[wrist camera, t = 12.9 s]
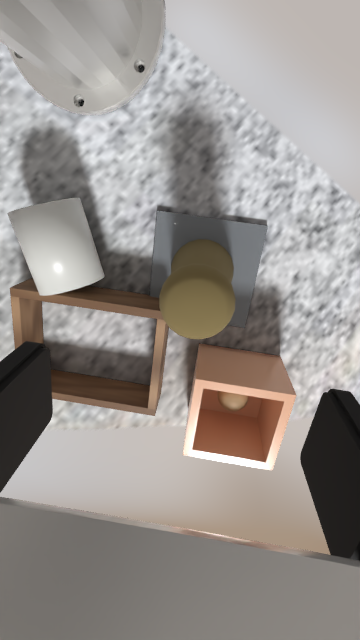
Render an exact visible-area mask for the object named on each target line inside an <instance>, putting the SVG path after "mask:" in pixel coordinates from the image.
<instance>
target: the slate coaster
mask: <svg viewBox="0 0 360 640" xmlns="http://www.w3.org/2000/svg"><path fill="white" fill-rule="evenodd" d="M267 227H268V226H266V225H259V224H252V223H245V222H238V221H230V220H223V219H216V218H209V217H202V216H195V215H187V214H180V213H173V212H166V211H159V210H158V211H157V219H156V230H155V241H154V251H153V262H152V273H151V284H150V294H149V296H151V297H158V298H159V295H160V292H161V289H162V286H163V284H164V282H165V281H166V280H167V278H168V277H169V276H170V274H171V264H172V261H173V258H174V256H175V254H176V253H177V252H178V250H179V249H180V248H181V247H182V246H184V245H185V244H187V243H188V242H191V241H194V240H197V239H207V240H211V241H214V242H217V243H219V244H220V245H221V246H222V247H224V248H225V249H226V250H227V252H228V253H229V255H230V256H231V258H232V262H233V266H234V272H233V279H232V282H231V284H232V287H233V291H234V294H235V298H236V301H235V311H234V313H233V316H232V318H231V320H230V322H229V323H228V325H230V326H236V327H242V328H245V325H246V321H247V316H248V312H249V308H250V303H251V299H252V294H253V290H254V285H255V281H256V276H257V272H258V267H259V263H260V258H261V254H262V249H263V245H264V240H265V236H266V232H267Z"/></svg>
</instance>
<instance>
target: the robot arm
mask: <svg viewBox="0 0 360 640" xmlns="http://www.w3.org/2000/svg"><path fill="white" fill-rule="evenodd" d="M164 32H165V2H164V0H0V42H2V43H3V44H5V45H6V46H7V47H8V50H9V52H10V54H11V56H12V59H13V61H14V63H15V64H16V66H17V67H18V69H19V71H20V72H21V74H22V75H23V77H24V78H25V79H26V80H27V82H28V83H29V84H30V85H31V86H32V87H33V88H34V90H35V91H37V92H38V93H39V94H40V95H41V96H43V97H44V98H45V99H46V100H48V101H49V102H51V103H53V104H54V105H56V106H58V107H60V108H62V109H64V110H67V111H69V112H72V113H76V114H81V115H86V116H87V115H102V114H105V113H109V112H112V111H115V110H117V109H119V108H120V107H122V106H124V105H126V104H127V103H128V102H130V101H131V100H132V99H133V98H134V97H135V96H136V95H138V94H139V92H140V91H141V90H142V88H143V87H144V86H145V84H146V83H147V82H148V80H149V78H150V77H151V75H152V73H153V71H154V69H155V67H156V65H157V62H158V58H159V55H160V52H161V49H162V45H163V38H164ZM142 66H143V67H145V70H144V71H143V72H142V73H140V72H139V69H140V67H142ZM83 100H84V105H83V106H82V107H81V105H80V103H81V101H83ZM52 413H53V408H52V385H51V363H50V351H49V349H47V348H46V347H45V345H44V344H43V343H36V342H30V341H25V342H24V343H23V344H21V345H20V346H19V347H18V348H16V349H15V350H14V351H13V352H12V353H10V354H9V355H8V356H7V357H5V358H4V359H3V360H2V361H1V362H0V492H1V491H2V490H3V488H4V487H5V485H6V484H7V482H8V481H9V479H10V478H11V477H12V475H13V474H14V472H15V471H16V469H17V468H18V467H19V465H20V464H21V462H22V461H23V459H24V458H25V456H26V455H27V454H28V452H29V451H30V449H31V448H32V446H33V445H34V443H35V442H36V441H37V439H38V438H39V436H40V435H41V433H42V432H43V431H44V429H45V428H46V426H47V425H48V423H49V422H50V420H51V417H52ZM301 465H302V468H303V471H304V474H305V477H306V480H307V483H308V486H309V489H310V492H311V496H312V499H313V502H314V505H315V508H316V511H317V514H318V517H319V520H320V523H321V526H322V529H323V532H324V535H325V538H326V542H327V544H328V548H329V551H330V554H331V555H328V554H322V553H318V552H313V551H307V550H301V549H296V548H291V547H285V546H280V545H273V544H269V543H263V542H257V541H252V540H247V539H241V538H236V537H230V536H225V535H219V534H214V533H208V532H202V531H196V530H191V529H185V528H179V527H174V526H168V525H163V524H157V523H151V522H145V521H139V520H134V519H128V518H123V517H117V516H111V515H105V514H99V513H94V512H88V511H82V510H76V509H70V508H63V507H58V506H52V505H46V504H40V503H34V502H29V501H23V500H17V499H9V498H4V497H0V640H360V405H359V403H358V402H357V400H356V399H355V397H354V396H353V395H352V393H351V392H349V391H343V390H337V389H330V390H329V391H328V392H324V393H323V395H322V397H321V400H320V402H319V405H318V408H317V411H316V413H315V416H314V419H313V421H312V424H311V427H310V430H309V432H308V435H307V438H306V441H305V444H304V446H303V449H302V451H301Z"/></svg>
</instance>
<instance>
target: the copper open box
mask: <svg viewBox="0 0 360 640" xmlns="http://www.w3.org/2000/svg"><path fill="white" fill-rule="evenodd" d="M218 391H223V392H229V393H235V394H241V395H247V396H249V398H248V402H247V404H246V406H245V407H244V408H243V409H241V410H239V411H228V410H226V409H224V408H223V407H222V406H221V405H220V403H219V401H218V396H217V394H218ZM295 398H296V393H295V391H294V388H293V386H292V384H291V381H290V379H289V376H288V374H287V371H286V369H285V367H284V364H283V362H282V359H281V357H280V356H277V355H270V354H264V353H258V352H251V351H245V350H239V349H232V348H226V347H220V346H213V345H207V344H201V343H199V347H198V353H197V359H196V365H195V371H194V377H193V383H192V389H191V395H190V401H189V407H188V415H187V423H186V432H185V440H184V448H183V455H187V456H193V457H199V458H204V459H210V460H216V461H221V462H228V463H233V464H239V465H245V466H250V467H256V468H262V469H267V470H273V467H274V464H275V460H276V457H277V454H278V451H279V448H280V445H281V442H282V438H283V435H284V432H285V429H286V426H287V423H288V420H289V417H290V414H291V411H292V407H293V404H294V401H295Z"/></svg>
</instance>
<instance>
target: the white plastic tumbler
mask: <svg viewBox="0 0 360 640" xmlns="http://www.w3.org/2000/svg"><path fill="white" fill-rule="evenodd" d="M8 216H9V219H10V221H11V224H12V226H13V229H14V231H15V234H16V236H17V239H18V242H19V244H20V247H21V249H22V252H23V254H24V257H25V259H26V262H27V264H28V267H29V269H30V272H31V274H32V277H33V279H34V282H35V284H36V287H37V290H38V292H39V295H42V296H47V295H54V294H59V293H64V292H68V291H71V290H75V289H78V288H81V287H84V286H87V285H90V284H92V283H95V282H97V281H99V280H101V279H102V278H103V277H104V272H103V269H102V266H101V263H100V260H99V257H98V253H97V250H96V247H95V244H94V241H93V237H92V234H91V231H90V228H89V225H88V222H87V218H86V215H85V212H84V209H83V206H82V202H81V199H80V198H68V199H62V200H56V201H51V202H46V203H41V204H37V205H33V206H29V207H25V208H21V209H18V210H14V211H11V212H9V213H8Z"/></svg>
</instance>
